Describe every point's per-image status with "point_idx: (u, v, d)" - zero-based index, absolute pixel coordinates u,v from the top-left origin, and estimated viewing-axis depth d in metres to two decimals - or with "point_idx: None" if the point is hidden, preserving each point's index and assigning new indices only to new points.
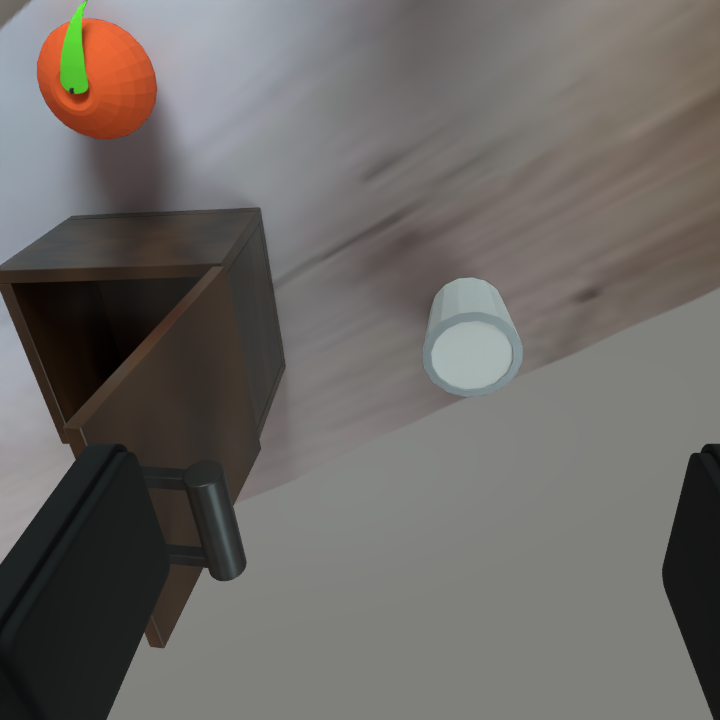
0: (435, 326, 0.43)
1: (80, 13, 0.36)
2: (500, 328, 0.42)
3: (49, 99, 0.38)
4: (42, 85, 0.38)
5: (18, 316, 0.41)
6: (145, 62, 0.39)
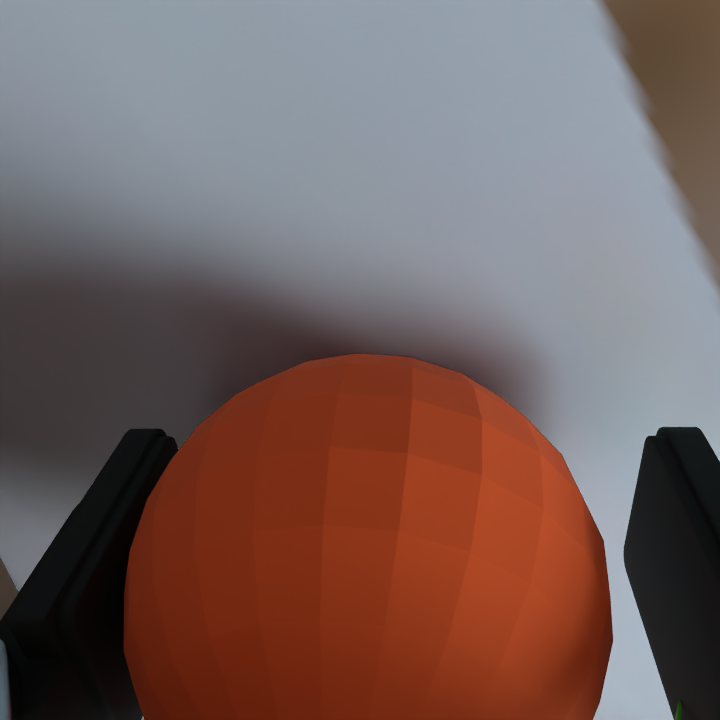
0: None
1: None
2: None
3: (275, 671, 0.06)
4: (353, 642, 0.06)
5: None
6: None
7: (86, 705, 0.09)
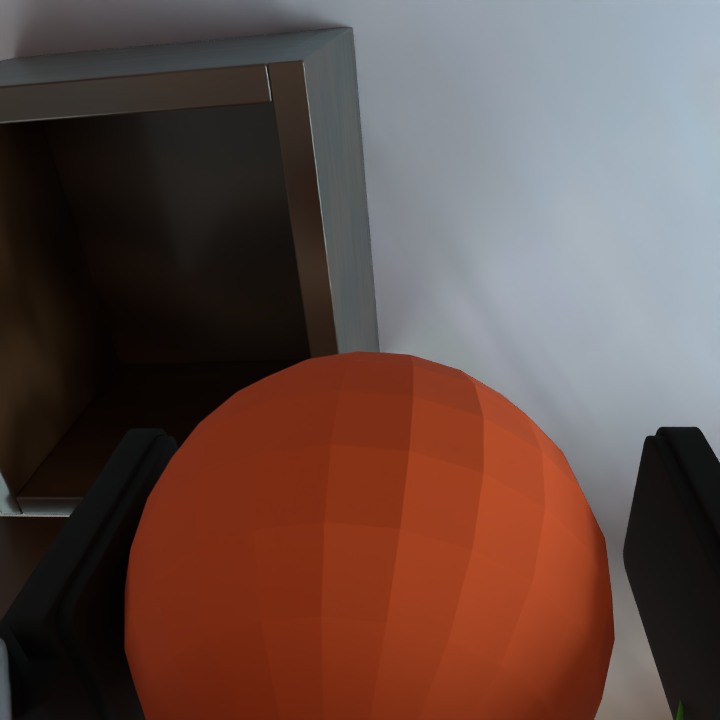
0: None
1: None
2: None
3: (277, 668, 0.06)
4: (354, 640, 0.06)
5: (178, 96, 0.16)
6: None
7: (86, 705, 0.09)
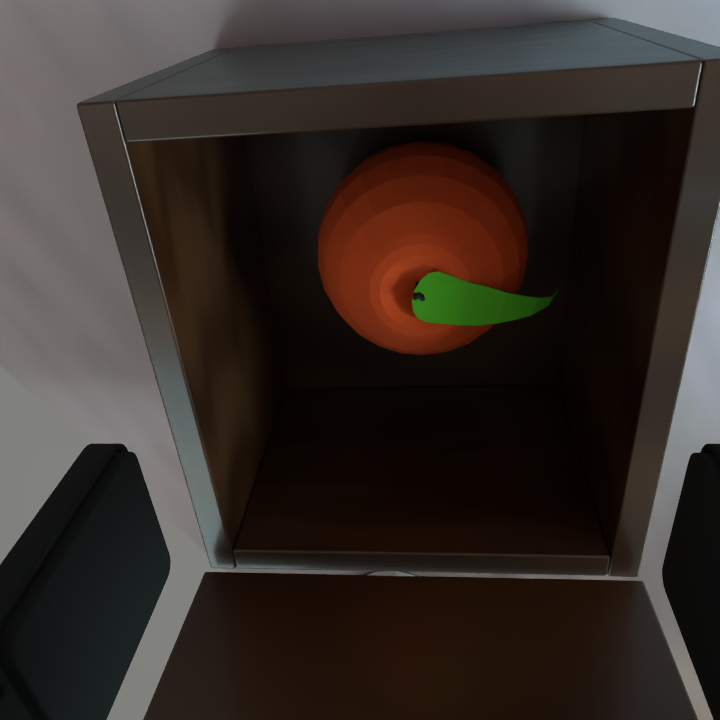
0: None
1: (544, 306, 0.20)
2: None
3: (400, 220, 0.18)
4: (428, 209, 0.18)
5: (577, 99, 0.13)
6: None
7: None
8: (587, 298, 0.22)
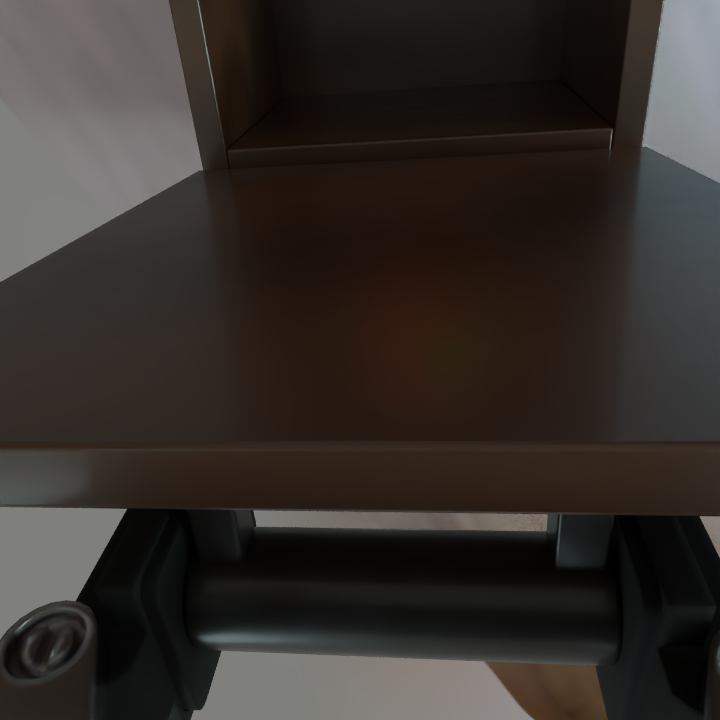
0: None
1: None
2: None
3: None
4: None
5: None
6: None
7: (164, 675, 0.09)
8: None
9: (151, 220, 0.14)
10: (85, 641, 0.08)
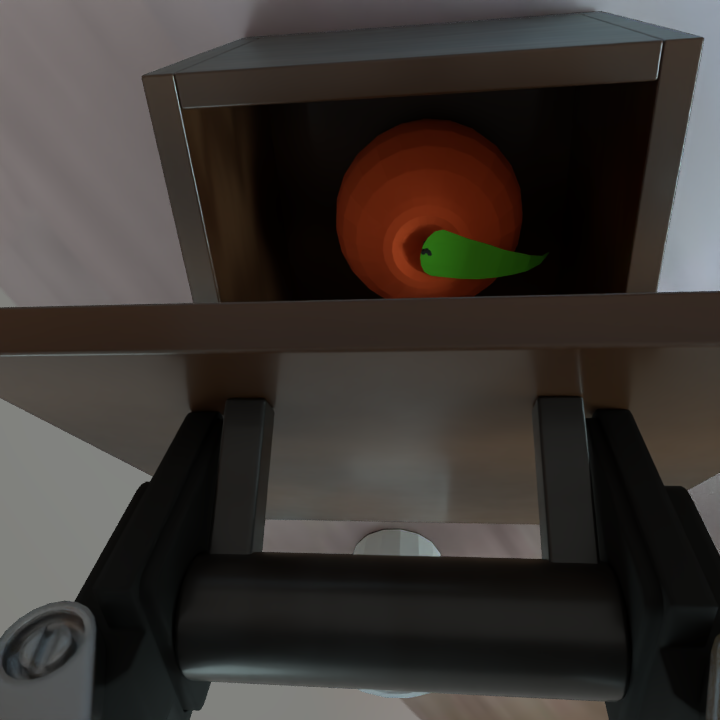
0: None
1: (536, 264, 0.22)
2: None
3: (411, 185, 0.20)
4: (435, 175, 0.20)
5: (560, 72, 0.15)
6: None
7: (162, 675, 0.09)
8: (576, 261, 0.24)
9: None
10: (83, 641, 0.08)
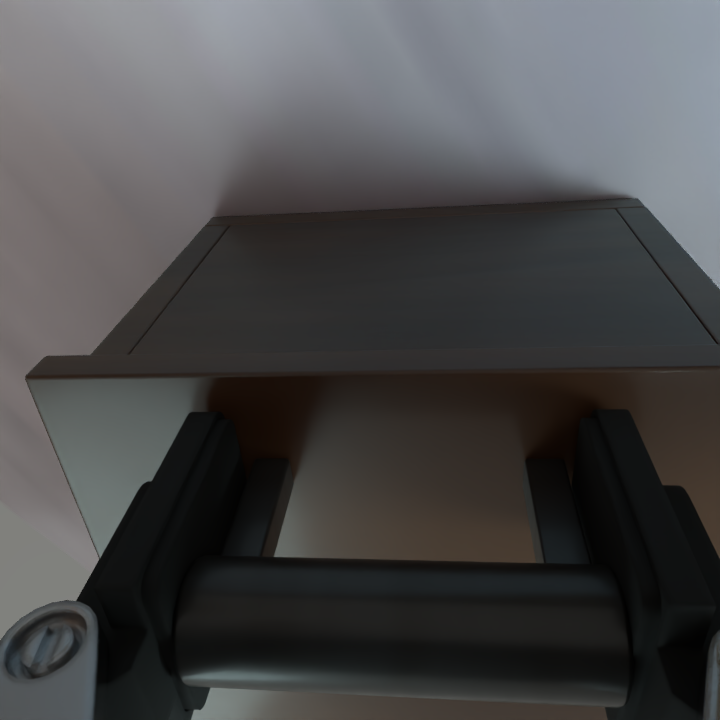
0: None
1: None
2: None
3: None
4: None
5: None
6: None
7: (165, 674, 0.09)
8: None
9: None
10: (86, 641, 0.08)
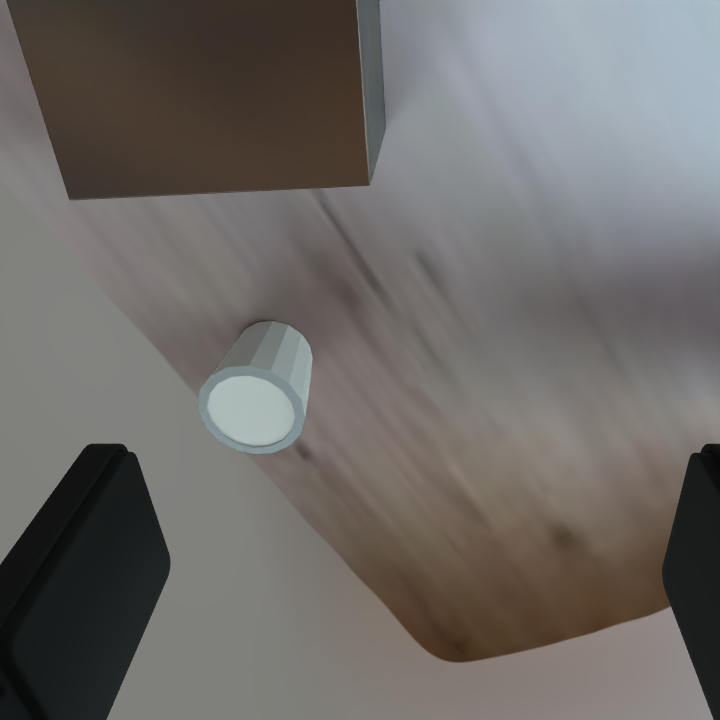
0: (281, 376, 0.39)
1: None
2: (288, 435, 0.41)
3: None
4: None
5: None
6: None
7: None
8: None
9: None
10: None
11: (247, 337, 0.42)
